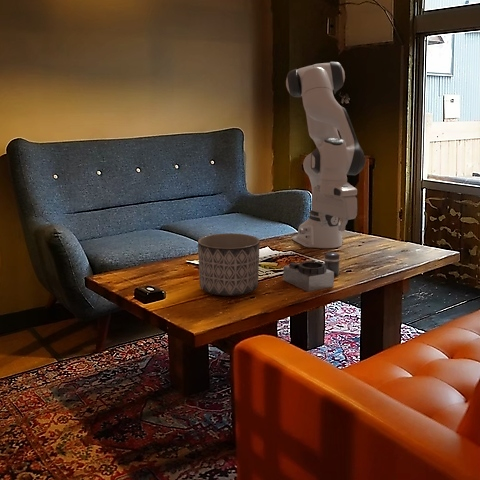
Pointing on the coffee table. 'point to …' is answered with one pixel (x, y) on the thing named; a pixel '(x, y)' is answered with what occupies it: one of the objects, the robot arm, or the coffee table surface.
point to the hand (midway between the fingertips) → (332, 228)
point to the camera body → (309, 275)
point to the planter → (228, 263)
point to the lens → (332, 262)
